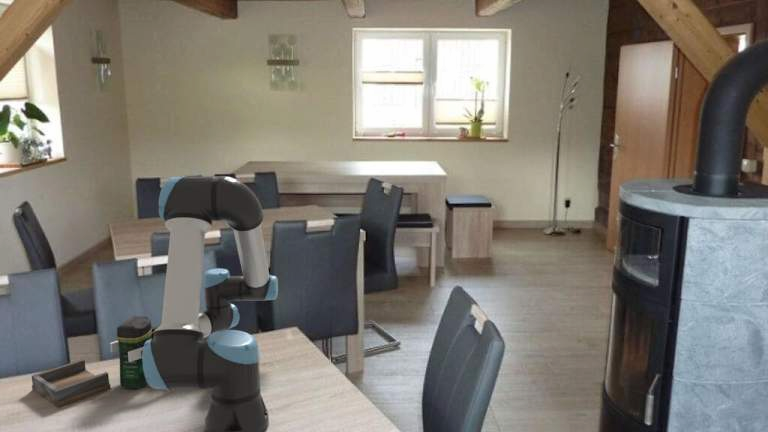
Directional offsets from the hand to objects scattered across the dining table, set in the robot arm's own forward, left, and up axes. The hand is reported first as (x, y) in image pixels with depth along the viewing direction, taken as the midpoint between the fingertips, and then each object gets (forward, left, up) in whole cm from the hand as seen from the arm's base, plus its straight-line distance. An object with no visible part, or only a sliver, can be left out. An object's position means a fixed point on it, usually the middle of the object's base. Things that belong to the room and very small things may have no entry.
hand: (119, 352), depth 175 cm
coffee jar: (0, -5, -11) cm, 12 cm away
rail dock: (+10, +9, -11) cm, 17 cm away
